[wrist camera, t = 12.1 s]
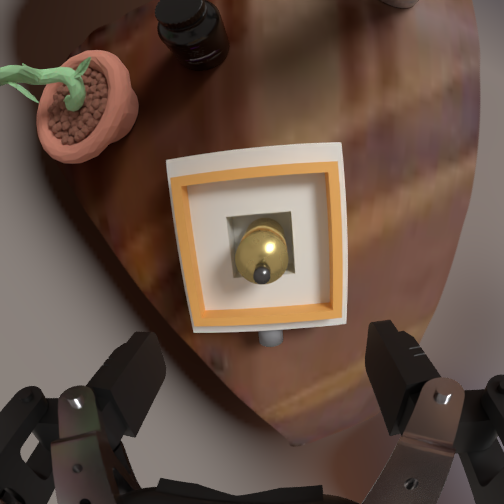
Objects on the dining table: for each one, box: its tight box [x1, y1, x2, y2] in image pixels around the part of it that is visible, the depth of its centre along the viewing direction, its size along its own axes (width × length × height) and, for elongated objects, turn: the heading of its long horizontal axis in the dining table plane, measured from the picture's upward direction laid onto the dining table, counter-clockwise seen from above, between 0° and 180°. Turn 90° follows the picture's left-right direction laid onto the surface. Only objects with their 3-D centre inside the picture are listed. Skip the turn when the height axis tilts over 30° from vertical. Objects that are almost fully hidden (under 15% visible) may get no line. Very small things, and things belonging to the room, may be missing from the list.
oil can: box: [235, 218, 288, 285], centre depth 28 cm, size 5×5×10 cm
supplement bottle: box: [155, 0, 230, 71], centre depth 24 cm, size 7×7×12 cm
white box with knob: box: [166, 142, 348, 347], centre depth 32 cm, size 23×18×8 cm
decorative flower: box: [0, 50, 139, 164], centre depth 18 cm, size 15×14×30 cm
